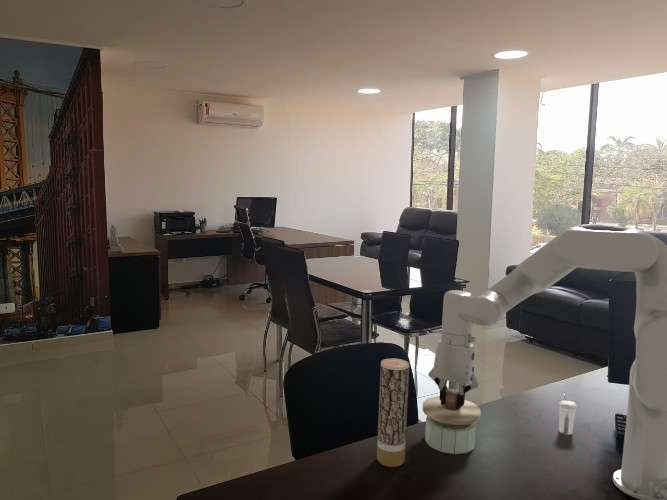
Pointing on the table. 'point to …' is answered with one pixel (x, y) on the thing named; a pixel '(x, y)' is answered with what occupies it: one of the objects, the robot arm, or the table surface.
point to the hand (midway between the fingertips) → (451, 404)
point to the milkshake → (566, 416)
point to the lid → (451, 409)
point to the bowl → (450, 436)
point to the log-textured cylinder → (392, 412)
